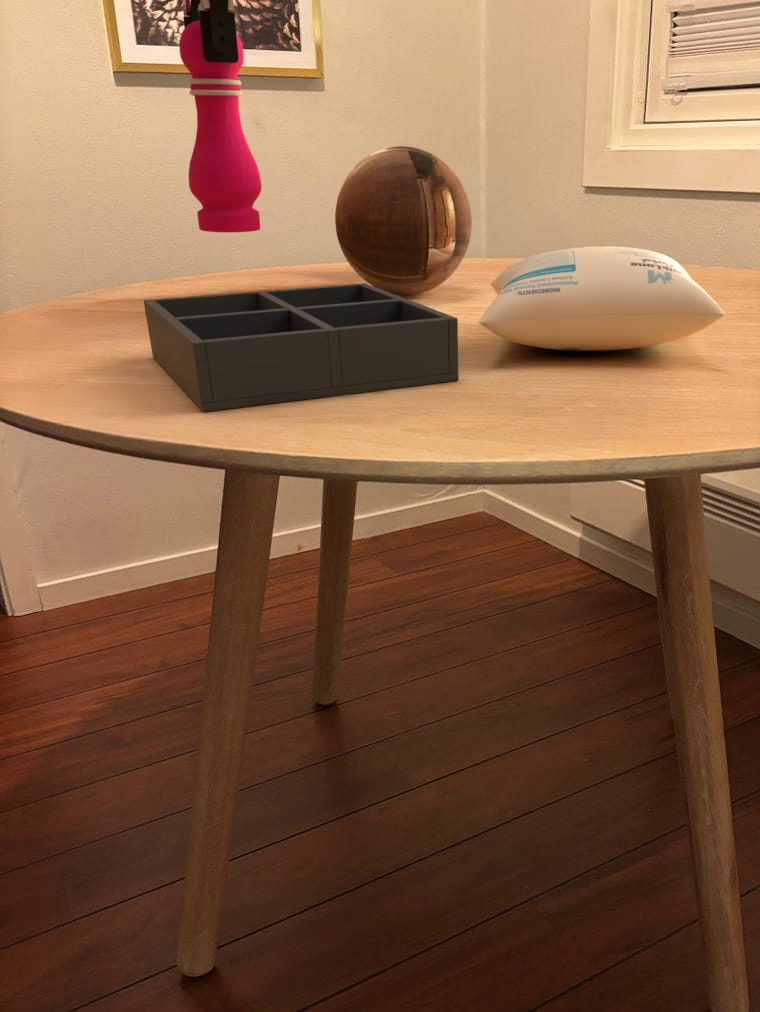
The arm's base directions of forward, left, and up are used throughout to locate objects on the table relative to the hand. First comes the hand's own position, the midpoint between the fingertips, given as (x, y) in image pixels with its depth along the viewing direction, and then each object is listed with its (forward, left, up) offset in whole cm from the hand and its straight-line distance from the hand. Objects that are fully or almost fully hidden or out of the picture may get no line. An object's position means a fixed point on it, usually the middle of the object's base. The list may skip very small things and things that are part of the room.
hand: (213, 61), depth 92 cm
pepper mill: (0, 0, -15) cm, 15 cm away
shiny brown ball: (+18, -2, -23) cm, 29 cm away
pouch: (+22, -35, -23) cm, 47 cm away
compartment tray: (-4, -32, -22) cm, 39 cm away
